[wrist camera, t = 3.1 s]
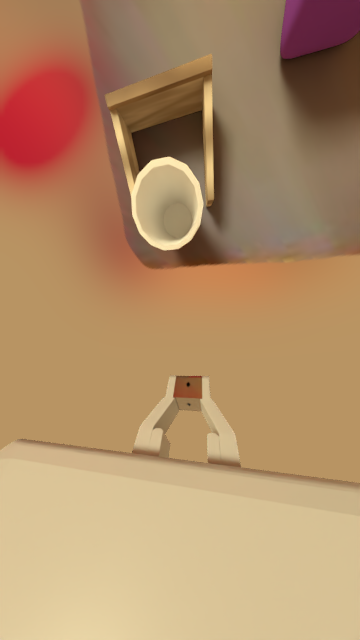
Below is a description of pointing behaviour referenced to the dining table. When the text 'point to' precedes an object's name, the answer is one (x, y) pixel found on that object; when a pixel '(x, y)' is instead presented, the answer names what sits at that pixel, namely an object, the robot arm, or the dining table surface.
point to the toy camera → (317, 25)
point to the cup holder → (165, 111)
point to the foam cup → (167, 203)
